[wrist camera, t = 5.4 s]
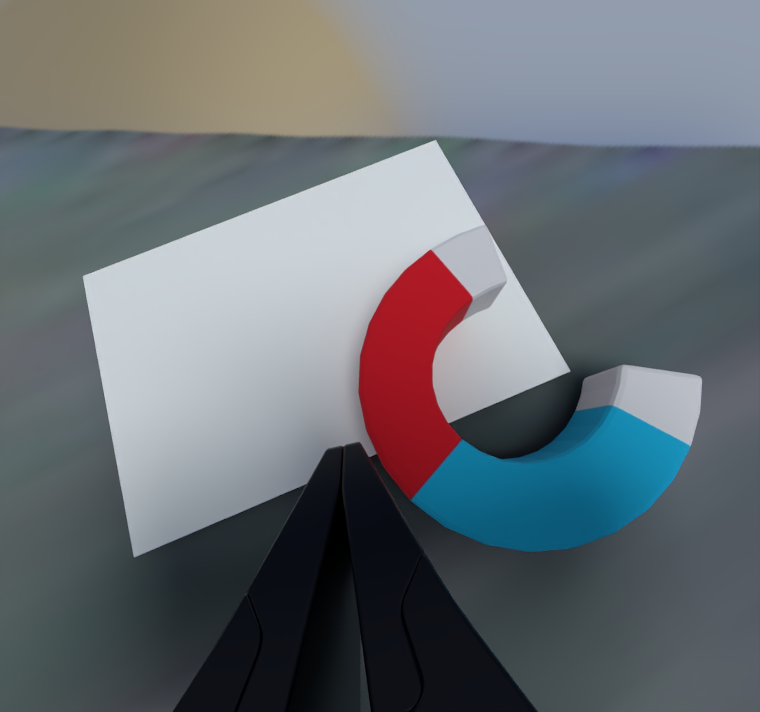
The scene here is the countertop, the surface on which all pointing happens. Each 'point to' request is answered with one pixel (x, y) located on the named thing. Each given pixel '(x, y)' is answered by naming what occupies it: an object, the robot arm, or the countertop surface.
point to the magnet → (530, 472)
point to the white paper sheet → (284, 341)
